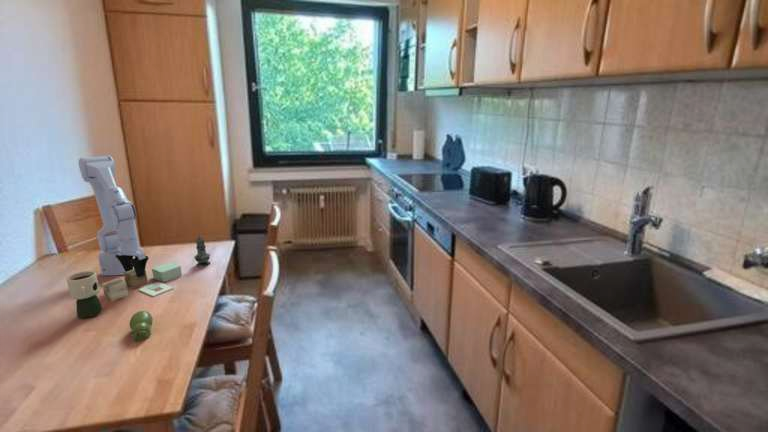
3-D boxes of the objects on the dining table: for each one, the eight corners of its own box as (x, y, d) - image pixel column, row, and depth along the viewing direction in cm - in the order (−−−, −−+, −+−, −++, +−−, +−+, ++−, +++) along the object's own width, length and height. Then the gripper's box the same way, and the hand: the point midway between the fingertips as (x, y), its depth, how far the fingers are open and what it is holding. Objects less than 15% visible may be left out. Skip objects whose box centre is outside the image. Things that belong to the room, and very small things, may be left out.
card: (138, 290, 137) (138, 289, 137) (158, 282, 143) (158, 281, 143) (153, 296, 133) (153, 295, 133) (173, 288, 139) (173, 287, 138)
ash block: (104, 297, 133) (101, 283, 131) (120, 291, 137) (118, 278, 135) (112, 301, 130) (109, 287, 129) (128, 295, 134) (125, 281, 133)
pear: (151, 305, 116) (150, 327, 108) (154, 320, 118) (153, 342, 110) (129, 310, 113) (126, 332, 105) (132, 324, 116) (130, 347, 108)
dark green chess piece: (205, 267, 156) (201, 238, 153) (192, 266, 157) (187, 237, 154) (214, 262, 162) (210, 234, 158) (201, 260, 163) (197, 233, 160)
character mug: (104, 318, 119) (95, 279, 116) (74, 325, 116) (64, 285, 112) (104, 304, 128) (96, 266, 125) (77, 310, 124) (68, 272, 121)
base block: (153, 278, 148) (151, 268, 147) (172, 271, 153) (170, 262, 152) (163, 282, 144) (161, 272, 143) (182, 276, 149) (180, 266, 148)
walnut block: (126, 285, 141) (123, 272, 140) (140, 280, 146) (138, 267, 144) (133, 288, 139) (131, 275, 138) (148, 283, 143) (145, 270, 142)
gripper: (105, 237, 138) (112, 273, 141) (127, 244, 130) (134, 282, 134) (126, 232, 144) (133, 267, 147) (148, 238, 136) (155, 275, 140)
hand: (135, 274), depth 141 cm, fingers open, 7 cm apart
